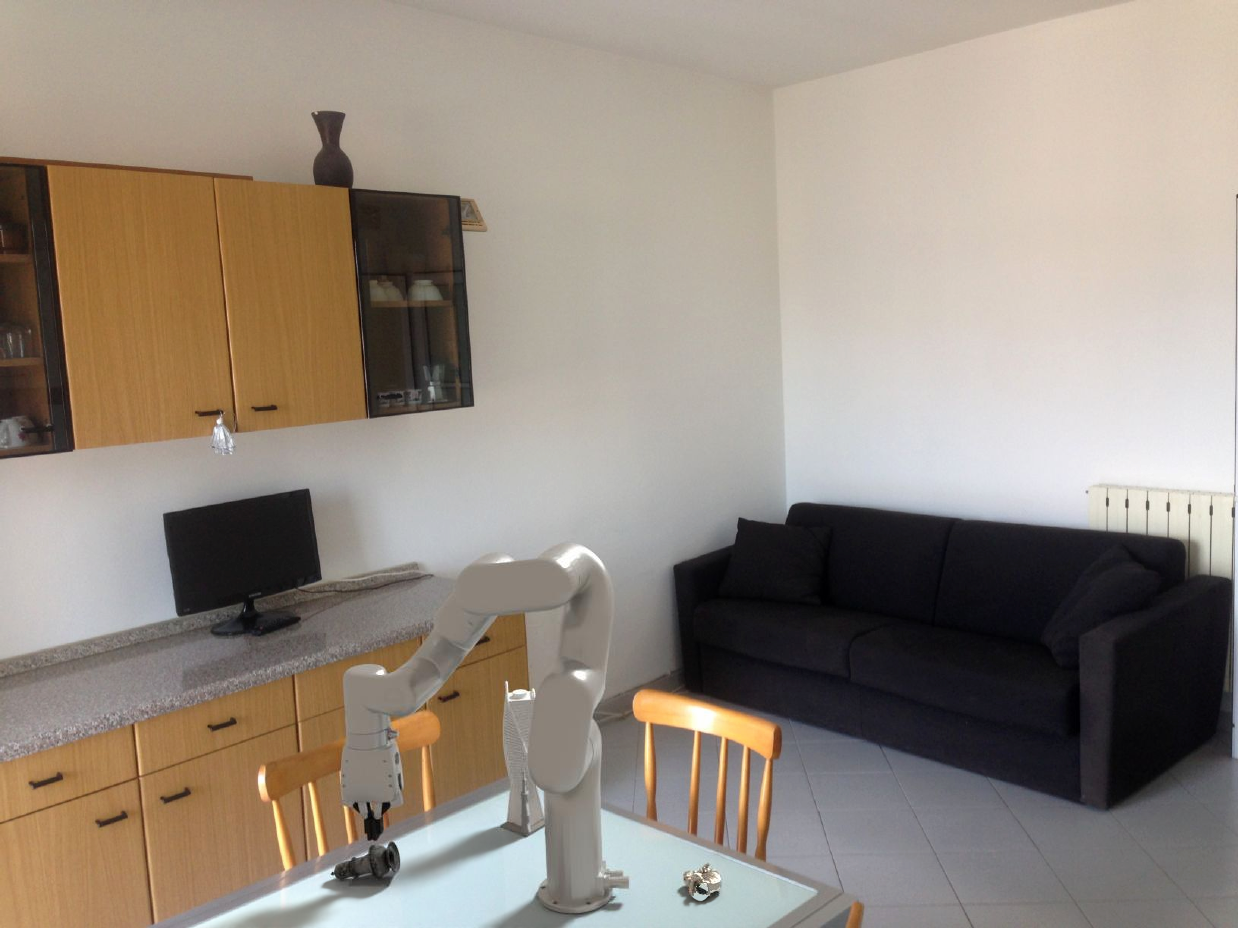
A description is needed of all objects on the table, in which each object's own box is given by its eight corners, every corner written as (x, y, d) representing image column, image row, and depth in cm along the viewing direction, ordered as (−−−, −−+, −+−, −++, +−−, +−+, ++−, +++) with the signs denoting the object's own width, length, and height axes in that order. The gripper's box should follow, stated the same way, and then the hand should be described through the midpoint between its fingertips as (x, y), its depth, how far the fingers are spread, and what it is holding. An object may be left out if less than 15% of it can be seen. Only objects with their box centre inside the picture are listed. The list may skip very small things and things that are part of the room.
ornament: (692, 875, 181) (692, 855, 180) (729, 883, 178) (729, 863, 177) (674, 897, 174) (673, 876, 173) (712, 906, 170) (711, 885, 170)
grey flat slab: (396, 871, 185) (396, 869, 184) (388, 886, 180) (388, 884, 180) (358, 871, 185) (358, 869, 185) (348, 885, 180) (348, 884, 180)
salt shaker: (396, 881, 179) (331, 898, 180) (403, 860, 185) (341, 877, 186) (384, 852, 178) (319, 870, 179) (392, 832, 184) (329, 849, 185)
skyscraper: (494, 825, 201) (488, 686, 198) (522, 809, 208) (517, 674, 204) (526, 836, 196) (520, 694, 193) (554, 820, 202) (549, 682, 199)
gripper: (416, 728, 182) (422, 827, 185) (334, 728, 183) (340, 826, 186) (405, 745, 175) (410, 848, 177) (318, 744, 176) (325, 847, 178)
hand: (374, 836), depth 181 cm, fingers closed
